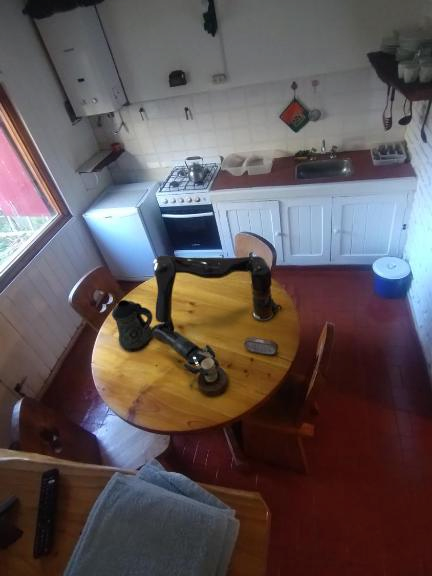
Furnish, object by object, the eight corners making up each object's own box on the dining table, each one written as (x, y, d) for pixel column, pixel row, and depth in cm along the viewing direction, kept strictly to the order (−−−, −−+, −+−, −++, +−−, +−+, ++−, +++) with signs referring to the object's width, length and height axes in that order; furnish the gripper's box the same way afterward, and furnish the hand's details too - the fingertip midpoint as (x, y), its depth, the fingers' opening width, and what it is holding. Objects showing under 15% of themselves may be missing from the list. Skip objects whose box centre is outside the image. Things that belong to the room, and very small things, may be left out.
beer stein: (118, 334, 178) (100, 299, 163) (154, 320, 182) (140, 284, 167) (124, 357, 166) (106, 321, 150) (162, 341, 170) (148, 304, 154)
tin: (278, 351, 154) (278, 339, 149) (277, 357, 152) (276, 345, 146) (246, 346, 159) (244, 334, 154) (244, 351, 157) (242, 339, 152)
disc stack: (213, 369, 146) (210, 355, 140) (219, 377, 142) (216, 364, 137) (202, 375, 144) (198, 362, 139) (208, 384, 141) (204, 371, 135)
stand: (218, 367, 153) (217, 361, 150) (233, 386, 144) (231, 381, 141) (195, 380, 149) (193, 375, 147) (208, 401, 140) (206, 396, 138)
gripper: (170, 353, 142) (198, 376, 132) (196, 332, 149) (224, 352, 138) (175, 364, 147) (201, 387, 136) (199, 343, 154) (226, 363, 143)
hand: (212, 369), depth 137 cm, fingers closed on disc stack, 5 cm apart
